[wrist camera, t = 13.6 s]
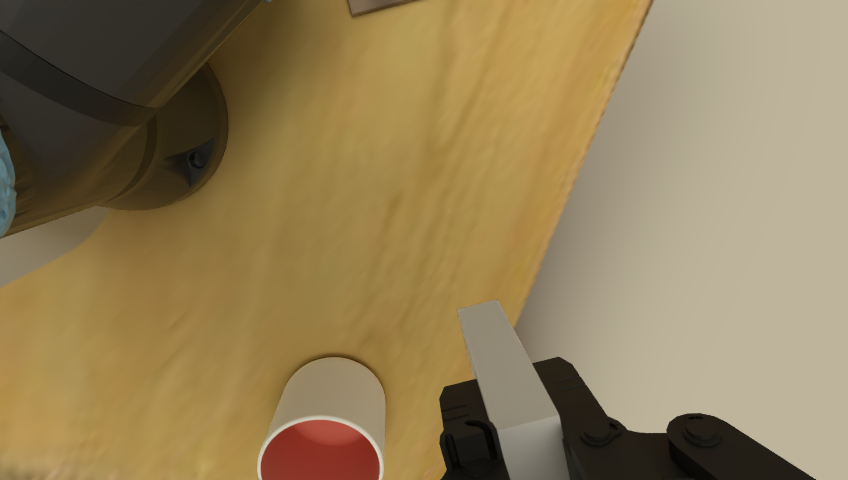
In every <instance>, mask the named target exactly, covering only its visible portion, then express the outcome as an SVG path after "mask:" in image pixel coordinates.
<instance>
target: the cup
mask: <svg viewBox="0 0 848 480" xmlns="http://www.w3.org/2000/svg"><path fill="white" fill-rule="evenodd" d="M385 410H386V400H385V395H384V391H383V388H382V386H381V384H380V382H379V380H378V379H377V377H376V376H375V375H374V374H373V373H372V372H371V371H370V370H369V369H368V368H366V367H365V366H363V365H362V364H360V363H358V362H356V361H353V360H350V359H346V358H340V357H328V358H322V359H318V360H315V361H312V362H310V363H308V364H306V365H304V366H303V367H301V368H300V369H299V370H298V371H296V372H295V373H294V374H293V376H292V377H291V378H290V379H289V381H288V383H287V384H286V386H285V388H284V391H283V393H282V396H281V399H280V401H279V404H278V406H277V409H276V411H275V414H274V417H273V419H272V422H271V424H270V427H269V429H268V432H267V435H266V437H265V440H264V442H263V445H262V447H261V450H260V453H259V456H258V462H257V472H258V477H259V480H382V478H383V472H384V445H385Z"/></svg>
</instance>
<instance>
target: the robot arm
mask: <svg viewBox="0 0 848 480" xmlns="http://www.w3.org/2000/svg"><path fill="white" fill-rule="evenodd" d="M263 1H264V2H267V3H268V2H270V1H272V0H0V239H1V238H4V237H6V236H9V235H12V234H15V233H18V232H20V231H24V230H27V229H30V228H32V227H35V226H38V225H41V224H44V223H47V222H49V221H52V220H55V219H58V218H61V217H64V216H67V215H70V214H73V213H76V212H79V211H81V210H84V209H87V208H90V207H93V206H102V207H107V208H113V209H119V210H147V209H154V208H159V207H162V206H166V205H168V204H171V203H173V202H176V201H178V200H180V199H183V198H185V197H187V196H189V195H190V194H192V193H194V192H195V191H196V190H198V189H199V188H200V187H201V186H203V185H204V184H205V183H206V182H207V181H208V180H209V178H210V177H211V176H212V175H213V173H214V172H215V170H216V169H217V167H218V165H219V163H220V161H221V159H222V157H223V154H224V151H225V148H226V143H227V137H228V113H227V107H226V103H225V99H224V96H223V93H222V90H221V87H220V85H219V83H218V81H217V79H216V77H215V75H214V73H213V71H212V70H211V68H210V67H209V65H208V64H207V63H206V61H207V60H208V59H209V58H210V57H211V56H212V55H213V54H214V53H215V52H216V51H217V50H218V48H219V47H220V46H221V45H222V44H223V43H224V42H225V41H226V40H227V39H228V38H229V37H230V36H231V35H232V34H233V33H234V32H235V31H236V30H237V28H238V27H239V26H240V25H241V24H242V23H243V22H244V21H245V20H246V19H247V18H248V17H249V16H250V15H251V14H252V13H253V12H254V11H255V10H256V8H257V7H258V6H259V5H260V4H261V3H262V2H263ZM457 313H458V317H459V321H460V325H461V329H462V333H463V337H464V341H465V345H466V349H467V353H468V357H469V361H470V365H471V369H472V373H473V376H474V380H470V381H466V382H462V383H458V384H454V385H450V386H446V387H444V389H443V391H442V394H441V396H440V398H439V401H440V407H441V414H442V420H443V427H444V431H443V432H442V434H441V435H440V443H439V444H440V447H441V451H442V454H443V458H444V461H445V465H446V468H447V470H446V473H445V474H444V476H443V477H442V479H441V480H816V479H814V478H813V477H811V476H809V475H808V474H806V473H805V472H803V471H802V470H800V469H798V468H797V467H795V466H794V465H792V464H791V463H789V462H788V461H786V460H784V459H783V458H781V457H780V456H778V455H777V454H775V453H774V452H772V451H770V450H769V449H767V448H766V447H764V446H762V445H761V444H759V443H758V442H756V441H755V440H753V439H752V438H750V437H749V436H747V435H746V434H744V433H742V432H741V431H739V430H738V429H736V428H735V427H733V426H731V425H730V424H728V423H727V422H725V421H723V420H721V419H719V418H717V417H714V416H710V415H706V414H701V413H694V414H693V413H692V414H684V415H681V416H677V417H676V418H674V419H673V420H672V421H670V422H669V424H668V427H667V433H638V432H633V431H629V430H627V429H626V428H625V427H624V426H623V425H622V424H621V423H620V422H619V421H617V420H615V419H613V418H610V417H608V416H607V415H606V413H605V412H604V410H603V409H602V407H601V406H600V404H599V403H598V401H597V400H596V399H595V397H594V396H593V394H592V393H591V391H590V390H589V388H588V387H587V386H586V385H585V383H584V381H583V380H582V378H581V377H580V376H579V374H578V372H577V371H576V369H575V368H574V366H573V365H572V364H571V363H569V362H567V361H566V360H564V359H562V358H560V357H556V358H552V359H548V360H544V361H540V362H536V363H531V361H530V359H529V357H528V356H527V354H526V352H525V350H524V348H523V346H522V344H521V342H520V340H519V338H518V337H517V335H516V333H515V331H514V329H513V327H512V325H511V323H510V322H509V320H508V318H507V316H506V314H505V312H504V310H503V308H502V307H501V305H500V303H499V301H498V299H496V300H492V301H488V302H484V303H480V304H477V305H473V306H469V307H465V308H461V309H457Z"/></svg>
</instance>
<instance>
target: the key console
mask: <svg viewBox="0 0 848 480" xmlns="http://www.w3.org/2000/svg"><path fill="white" fill-rule="evenodd" d="M411 1H415V0H349V4H350V8H351V11H352V15H353V17H354V16H358V15H362V14H366V13H369V12H373V11H377V10H381V9H385V8H388V7H392V6H396V5H400V4H404V3H407V2H411Z"/></svg>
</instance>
